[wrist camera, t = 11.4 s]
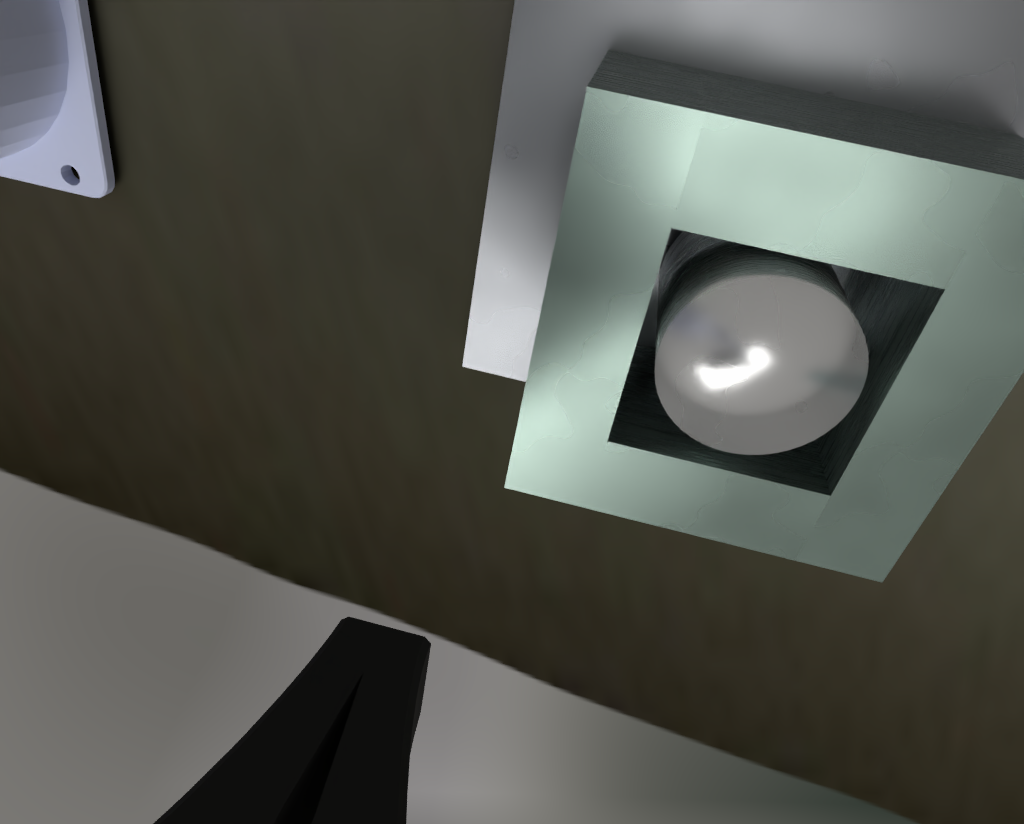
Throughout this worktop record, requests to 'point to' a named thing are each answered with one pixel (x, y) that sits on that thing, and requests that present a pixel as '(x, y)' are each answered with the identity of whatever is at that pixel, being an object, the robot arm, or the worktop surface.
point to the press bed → (760, 223)
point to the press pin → (754, 346)
